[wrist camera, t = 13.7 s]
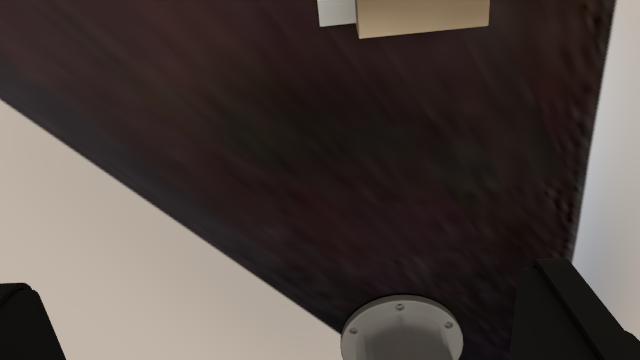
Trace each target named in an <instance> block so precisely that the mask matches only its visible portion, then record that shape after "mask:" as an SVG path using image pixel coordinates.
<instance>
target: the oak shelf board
mask: <svg viewBox="0 0 640 360" xmlns="http://www.w3.org/2000/svg"><path fill="white" fill-rule="evenodd" d="M489 4H490V0H355V11H356V27H357V32H358V35H359V39H361V38H371V37H381V36H391V35H400V34H410V33H420V32H430V31H440V30H450V29H460V28H470V27H480V26H488V21H489Z"/></svg>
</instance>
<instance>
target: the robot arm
mask: <svg viewBox="0 0 640 360" xmlns="http://www.w3.org/2000/svg"><path fill="white" fill-rule="evenodd" d="M462 348H463V336H462V332H461V329H460V326H459V324H458V322H457V320H456V318H455V317H454V316H453V314H452V313H451V312H450V311H449V310H448V309H446V308H445V307H444V306H442V305H441V304H439V303H437V302H435V301H433V300H431V299H427V298H424V297H420V296H413V295H394V296H388V297H383V298H380V299H377V300H374V301H372V302H370V303H368V304H366V305H364V306H362V307H361V308H360V309H358V310H357V311H356V312H354V313H353V315H352V316H351V317H350V318H349V319H348V320H347V322H346V324H345V326H344V327H343V330H342V334H341V354H342V357H343V360H458V359H459V357H460V355H461V353H462ZM0 360H66V358H65V356H64V353H63V351H62V349H61V346H60V344H59V341H58V339H57V336H56V334H55V332H54V329H53V327H52V325H51V322H50V320H49V317H48V315H47V312H46V310H45V308H44V305H43V303H42V301H41V298H40V296H39V294H38V292H36V291H35V290H32V289H31V287H30V286H29V285H28V284H26V283H5V284H0ZM509 360H640V341H639V340H638V339H637V338H636V337H635V336H634V335H633V334H631V333H629V332H627V331H625V330H624V329H623V328H622V327H621V326H620V324H619V323H618V322H617V320H616V319H615V318H614V317H613V316H612V314H611V313H610V312H609V311H608V309H607V308H606V306H605V305H604V304H603V303H602V301H601V300H600V299H599V298H598V296H597V295H596V294H595V293H594V291H593V290H592V289H591V288H590V286H589V285H588V284H587V283H586V281H585V280H584V279H583V278H582V276H581V275H580V274H579V272H578V271H577V270H576V269H575V268H574V266H573V265H572V264H571V262H570V261H569V260H568V259H565V258H552V259H533V260H531V262H530V263H529V267H528V268H522V269H521V270H520V272H519V279H518V287H517V295H516V304H515V312H514V320H513V329H512V337H511V345H510V353H509Z"/></svg>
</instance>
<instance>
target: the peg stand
mask: <svg viewBox="0 0 640 360" xmlns="http://www.w3.org/2000/svg"><path fill="white" fill-rule="evenodd" d="M317 2H318V12H319V21H320V27H322V26H331V25H341V24H350V23H356V11H355V0H317Z"/></svg>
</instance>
